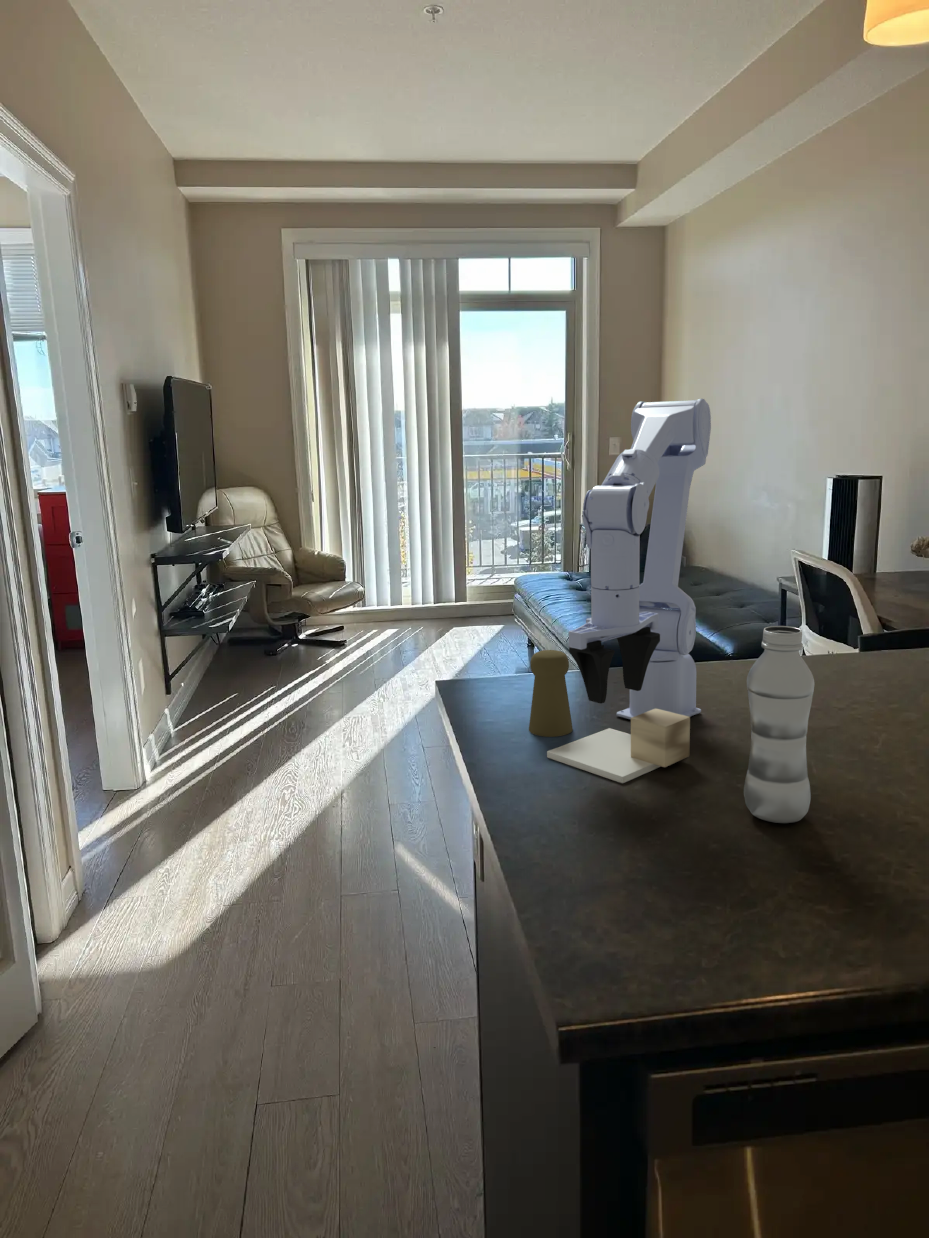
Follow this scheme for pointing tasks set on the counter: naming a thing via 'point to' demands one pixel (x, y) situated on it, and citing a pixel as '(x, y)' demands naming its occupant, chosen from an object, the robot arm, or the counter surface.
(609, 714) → the counter surface
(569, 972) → the counter surface
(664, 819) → the counter surface
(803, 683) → the plastic bottle
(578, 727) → the counter surface
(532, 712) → the cork
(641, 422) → the robot arm
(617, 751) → the plate
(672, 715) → the cube
